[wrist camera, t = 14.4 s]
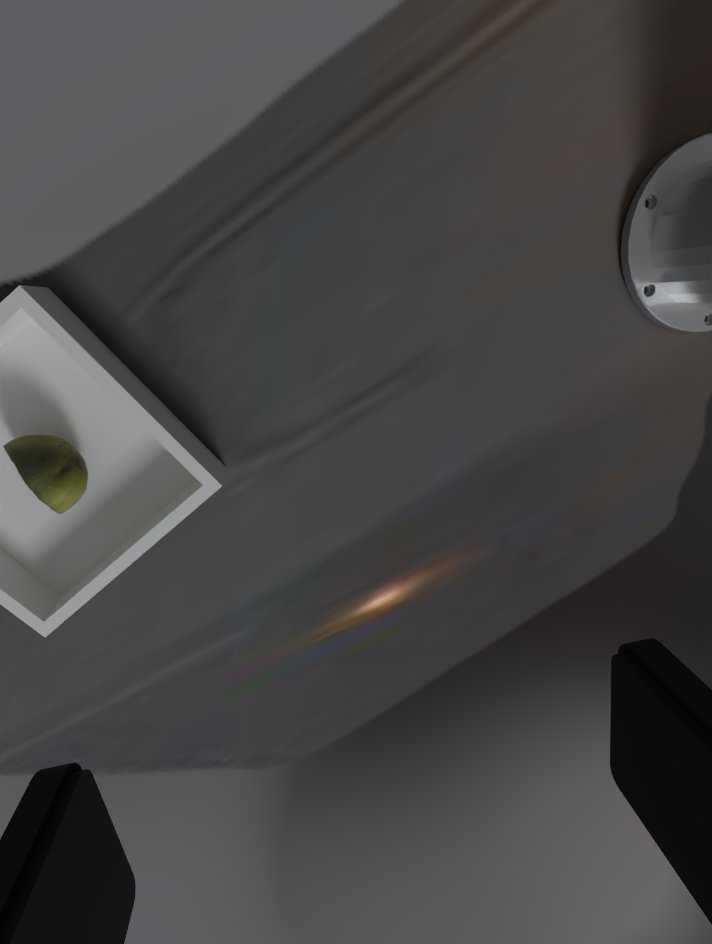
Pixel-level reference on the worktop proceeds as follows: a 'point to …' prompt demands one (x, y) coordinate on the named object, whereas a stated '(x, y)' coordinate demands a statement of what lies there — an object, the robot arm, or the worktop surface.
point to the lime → (50, 469)
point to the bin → (104, 451)
